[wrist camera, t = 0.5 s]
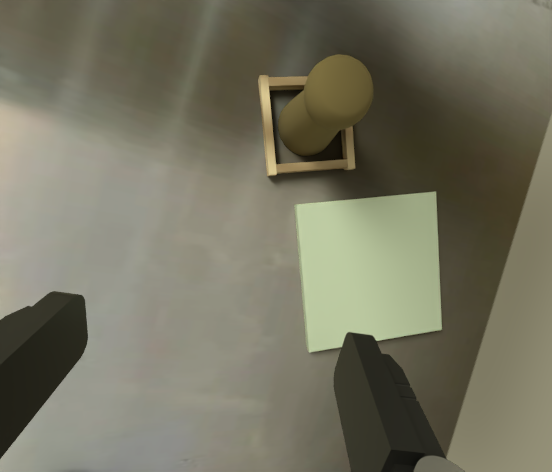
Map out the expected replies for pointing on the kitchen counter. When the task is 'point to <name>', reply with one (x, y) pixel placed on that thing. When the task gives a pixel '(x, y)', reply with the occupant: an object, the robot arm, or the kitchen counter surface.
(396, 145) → the kitchen counter surface
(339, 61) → the cork
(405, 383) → the robot arm
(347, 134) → the oak holder frame
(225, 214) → the kitchen counter surface
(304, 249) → the sage board
